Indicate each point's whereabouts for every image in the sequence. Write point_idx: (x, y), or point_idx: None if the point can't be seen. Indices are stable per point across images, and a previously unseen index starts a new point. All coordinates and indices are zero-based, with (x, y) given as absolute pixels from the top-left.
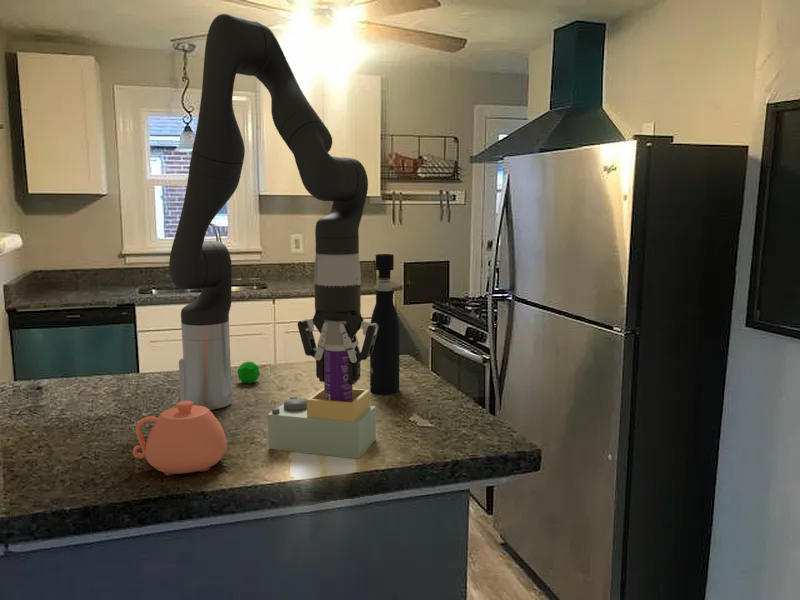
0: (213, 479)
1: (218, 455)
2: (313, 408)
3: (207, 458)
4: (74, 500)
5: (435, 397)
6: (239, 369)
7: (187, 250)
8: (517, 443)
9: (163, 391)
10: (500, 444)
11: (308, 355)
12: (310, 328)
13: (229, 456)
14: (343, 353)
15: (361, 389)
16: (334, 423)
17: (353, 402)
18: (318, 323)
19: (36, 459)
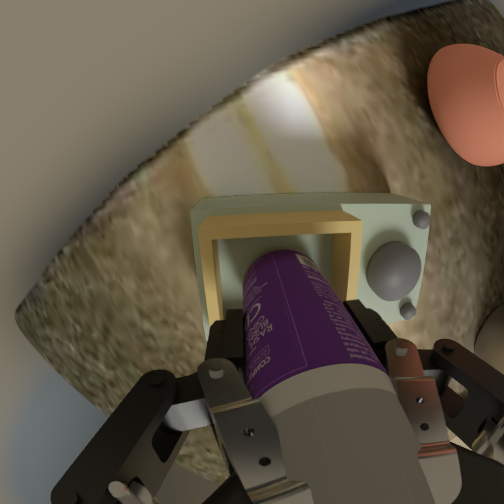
0: (403, 56)
1: (429, 81)
2: (333, 216)
3: (433, 61)
4: (477, 15)
5: (205, 457)
6: None
7: None
8: (31, 334)
9: None
10: (42, 327)
11: (439, 340)
12: (493, 436)
13: (430, 145)
14: (268, 376)
15: None
16: (260, 205)
17: (205, 240)
18: (479, 475)
19: None
